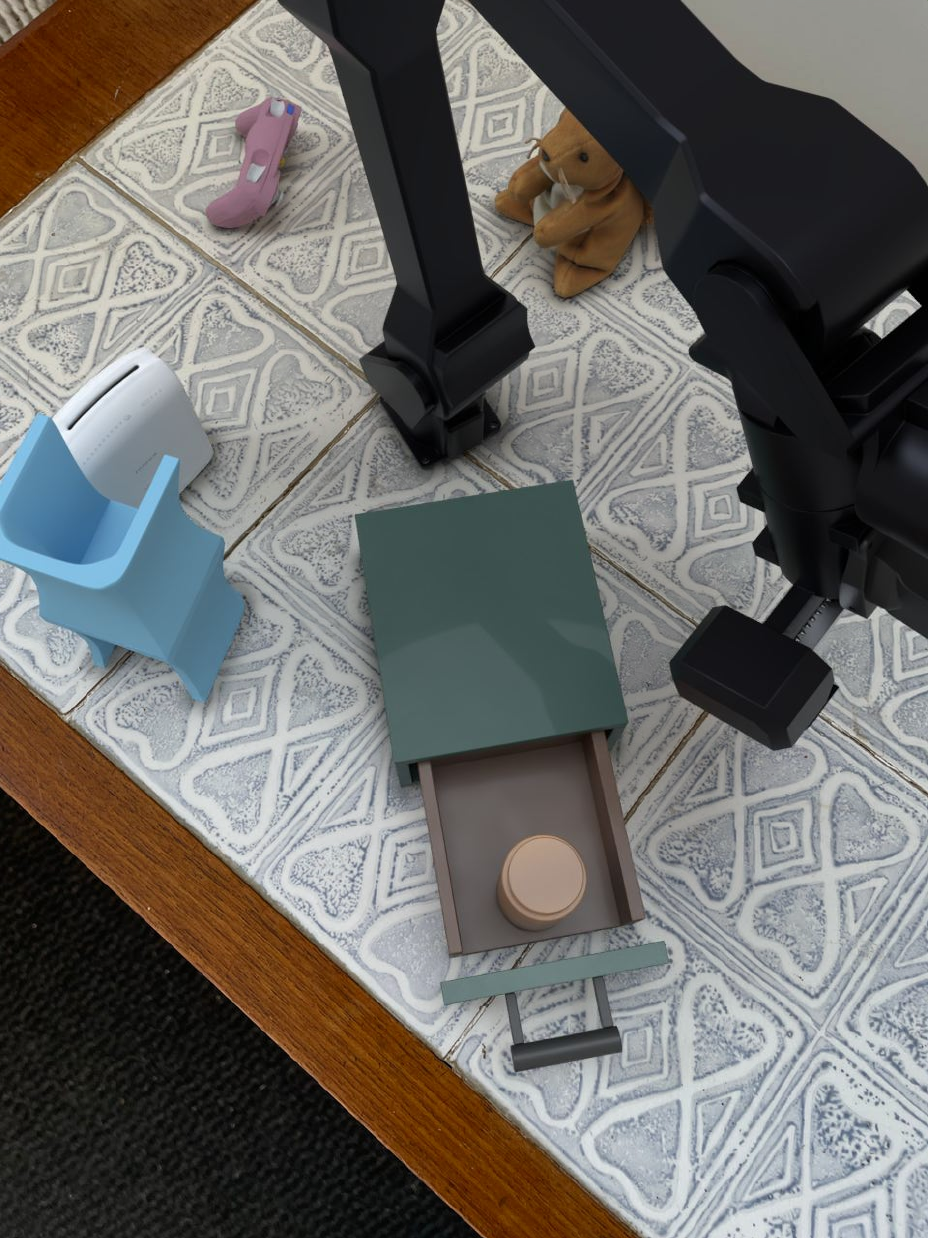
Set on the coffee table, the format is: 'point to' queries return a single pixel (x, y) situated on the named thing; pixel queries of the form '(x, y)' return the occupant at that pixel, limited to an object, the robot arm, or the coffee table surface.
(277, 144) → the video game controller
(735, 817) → the coffee table surface
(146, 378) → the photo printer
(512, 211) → the stuffed squirrel
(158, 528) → the light blue toy chair
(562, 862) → the tan lidded cylinder
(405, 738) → the cabinet
